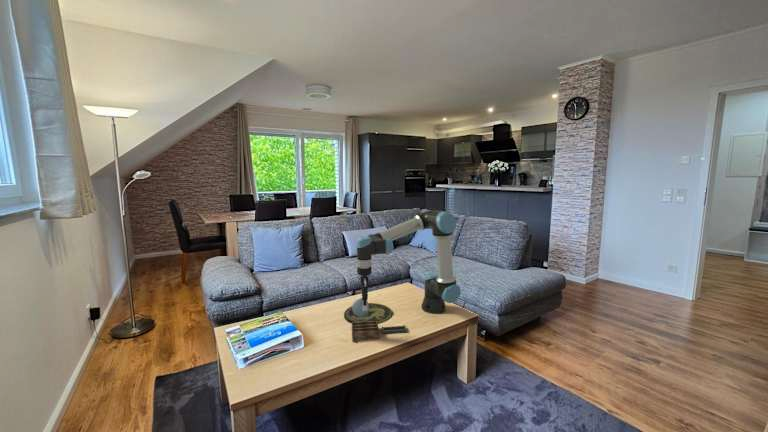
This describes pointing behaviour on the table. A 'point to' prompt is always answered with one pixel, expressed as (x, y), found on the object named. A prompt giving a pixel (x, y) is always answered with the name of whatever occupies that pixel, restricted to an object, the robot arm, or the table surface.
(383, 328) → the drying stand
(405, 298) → the table surface
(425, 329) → the table surface
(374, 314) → the decorative plate
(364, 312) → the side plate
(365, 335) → the dish rack
